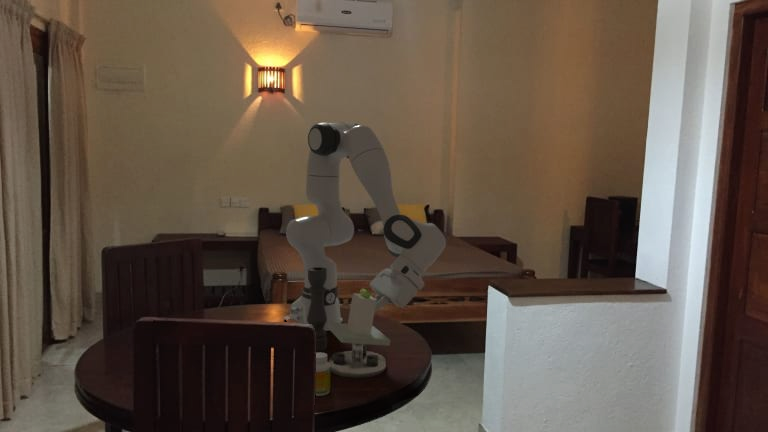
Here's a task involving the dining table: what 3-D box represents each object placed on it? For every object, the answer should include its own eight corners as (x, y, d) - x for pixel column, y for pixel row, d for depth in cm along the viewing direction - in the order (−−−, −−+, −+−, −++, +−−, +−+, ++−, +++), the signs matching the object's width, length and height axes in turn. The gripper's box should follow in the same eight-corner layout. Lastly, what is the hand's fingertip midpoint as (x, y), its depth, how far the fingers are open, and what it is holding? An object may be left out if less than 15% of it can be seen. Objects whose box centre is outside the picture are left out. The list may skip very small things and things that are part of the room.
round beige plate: (373, 354, 170) (374, 327, 169) (394, 373, 155) (394, 344, 154) (322, 360, 164) (322, 332, 163) (338, 381, 149) (338, 350, 149)
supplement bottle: (329, 396, 140) (330, 358, 139) (308, 396, 140) (308, 358, 139) (330, 387, 146) (330, 351, 145) (309, 387, 145) (309, 351, 144)
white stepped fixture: (371, 330, 168) (379, 287, 167) (389, 345, 155) (398, 298, 154) (327, 327, 163) (335, 282, 162) (341, 342, 150) (350, 293, 149)
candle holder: (312, 352, 170) (312, 271, 168) (303, 346, 176) (303, 268, 173) (330, 349, 174) (331, 269, 171) (321, 343, 179) (322, 266, 176)
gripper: (384, 259, 171) (353, 293, 168) (412, 272, 152) (379, 311, 149) (397, 272, 173) (367, 306, 170) (427, 286, 154) (394, 325, 151)
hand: (373, 308), depth 160 cm, fingers closed, pressing on white stepped fixture
